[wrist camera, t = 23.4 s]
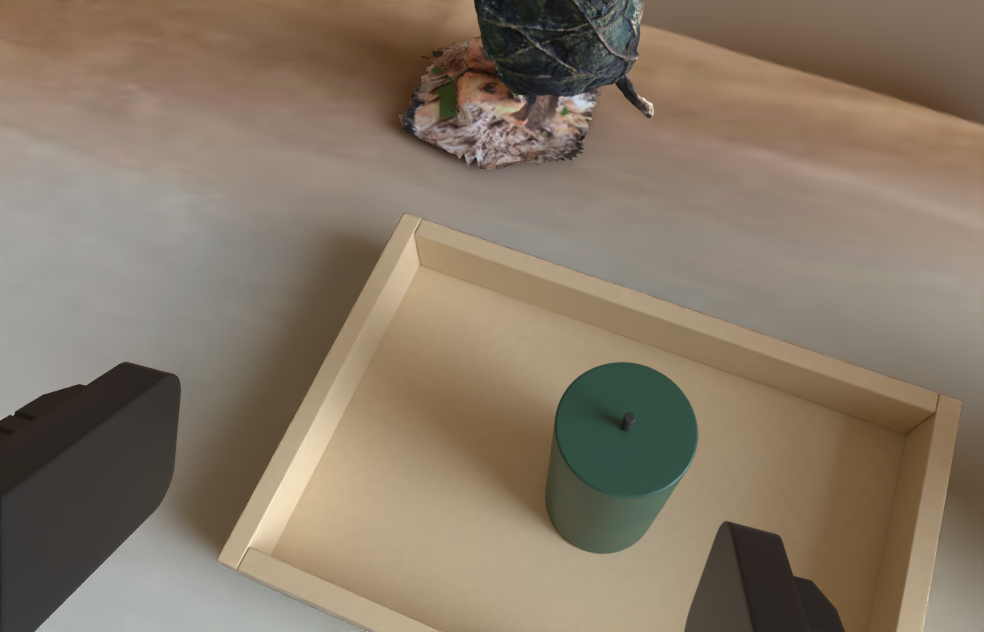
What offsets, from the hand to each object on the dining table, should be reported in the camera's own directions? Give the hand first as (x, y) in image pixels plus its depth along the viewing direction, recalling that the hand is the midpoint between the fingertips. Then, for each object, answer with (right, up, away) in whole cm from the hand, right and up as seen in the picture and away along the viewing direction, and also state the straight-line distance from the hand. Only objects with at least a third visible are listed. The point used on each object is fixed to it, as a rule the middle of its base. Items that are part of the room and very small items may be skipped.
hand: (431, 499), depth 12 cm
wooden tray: (+5, -4, +19) cm, 20 cm away
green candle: (+5, -4, +18) cm, 19 cm away
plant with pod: (+2, +12, +28) cm, 30 cm away
